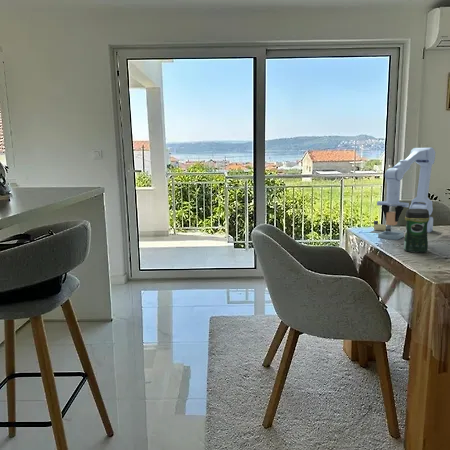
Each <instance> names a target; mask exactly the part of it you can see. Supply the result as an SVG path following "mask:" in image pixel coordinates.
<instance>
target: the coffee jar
mask: <svg viewBox="0 0 450 450" xmlns="http://www.w3.org/2000/svg"><path fill="white" fill-rule="evenodd" d="M404 215H405V216H404V220H405V232H404V241H403V250H404V251H406V252H411V253H426V252H428V251H429V242H428V232H427V224H428V221H429V217H430V216H429V211H428V210H427V209H409V208H407V209H406V211H405V214H404Z"/></svg>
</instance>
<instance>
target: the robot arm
mask: <svg viewBox="0 0 450 450" xmlns="http://www.w3.org/2000/svg"><path fill="white" fill-rule="evenodd" d="M435 159H436V150H435V149H434V148H433V147H431V146H430V147H413V148H411V150H410V153H409V155H408V156H407V157H406V158H405V159H399V160H398V162H397V163H396V164H395V165H393V167H390V168H387V170H385V173H384V178H385V181H386V184H387V185H386V200H383V201H382V200H378V201H377V202H376V206H381V207H380V209H381V211H382V213H383V215H384V219H385V221H386V213H387V212H389V211H390V208H391V207H394V210H395V211H394V212H395V213H396V216H395V222H397V223H398V222H399V220H400V216H401V214H402V212H403V210H404V208H408V209H427V210H428V211H429V221H428V224H427V233H431V232H433V228H434V217H433V216H431V215H432V213H433V210H434V207H433V201H432V200H431V199H429V196H428V195H429V190H430V181H431V175H432V167H433V165H434V164H435ZM414 163H416V164H417V165H419V167H420V168H419V176H418V177H419V178H418V184H417V193H416V196H415V197H414V198H413V199H411V203H410V202H401V201H400V194H401V193H400V192H401V180H403V178H404V176H405V173H407V171H409V170H410V169H411V165H412V164H414Z"/></svg>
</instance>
